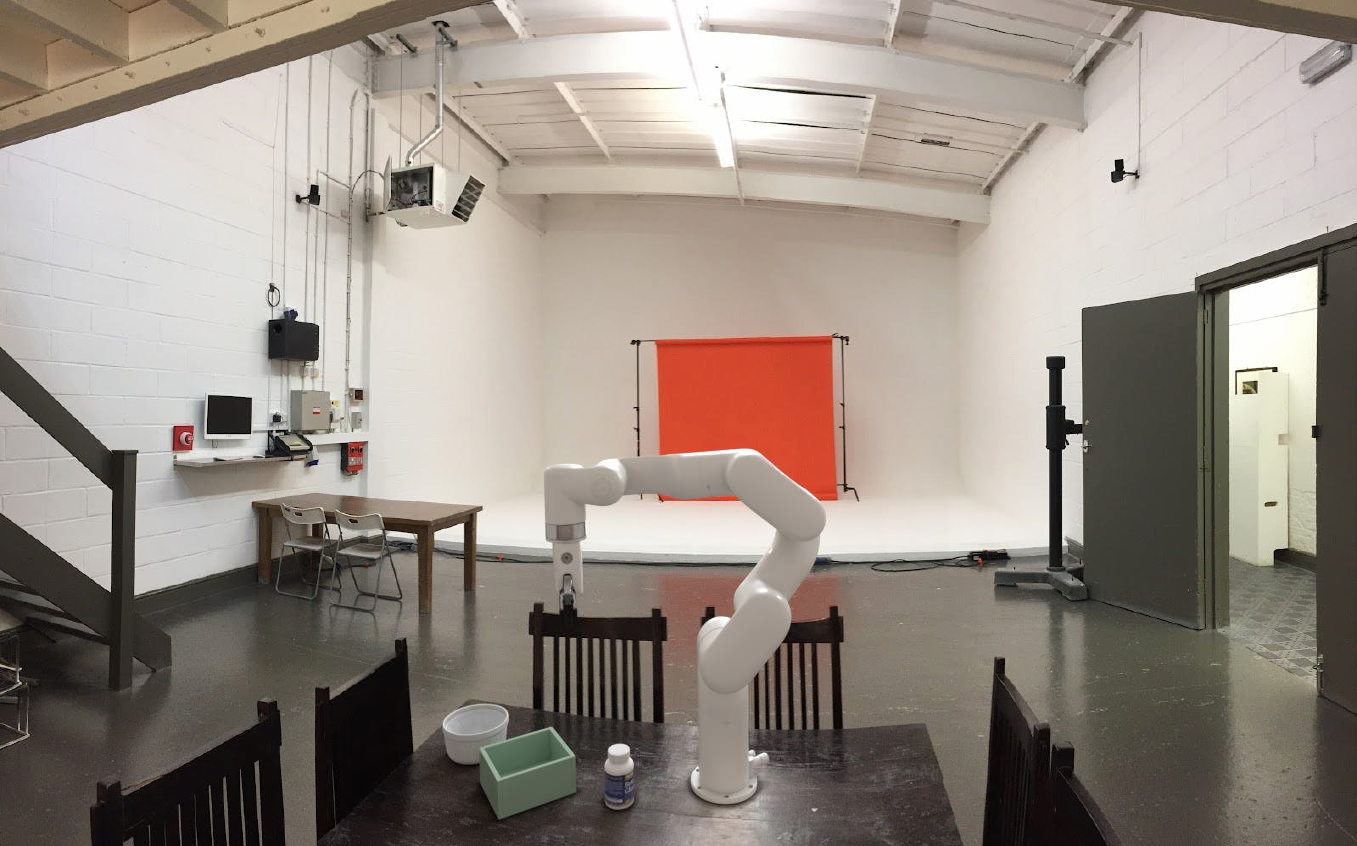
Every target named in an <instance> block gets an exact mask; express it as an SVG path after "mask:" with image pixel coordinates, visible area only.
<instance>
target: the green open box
mask: <svg viewBox="0 0 1357 846" xmlns="http://www.w3.org/2000/svg"><path fill="white" fill-rule="evenodd" d="M576 759H577V758H576V755H575V753H574V752H573V751H572V750H571V749H570V747H569V746H568V745H567V744H566V742H565V741H564V740H563V738H562V737H561V736H560V734H559V733H558V732H557V731H556V730H555V729H554V727H553V726H549V727H546V728H543V729H539V730H536V731H531V732H529V733H525V734H522V735H518V736H514V737H512V738H509V739H506V740H504V741H501V742H498V743H494V744H491V745H487V746H484V747H480V748H479V761H480V763H479V783H480V785H481V788H482V790H483V791H484V794H485V795H486V797H487V799H488V802H489V804H490V806H491V808H492V809H493V812H494V813H495V815H496V817H497V820H502V819H505V818H508V817H510V816H513V815H517V814H519V813H522V812H524V811H527V810H530V809H533V808H536V807H539V806H541V805H544V804H547V803H550V802H552V801H556V800H558V799H562V798H564V797H567V796H570V795H573V794H576V793H577V764H576V763H577V762H576Z"/></svg>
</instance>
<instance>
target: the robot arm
mask: <svg viewBox="0 0 1357 846" xmlns="http://www.w3.org/2000/svg"><path fill="white" fill-rule="evenodd" d="M543 494H544V495H543V497H544V524H545V525H544V528H545V529H544V530H545V531H544V532H545V534H544V535H545V541H546V542H548V543H551V544H552V565H553V567H552V568H553V578H554V586H555V593H556V596H557V597H558V598H559V599H558V600H559V601H558V603H559V604H558V605H559V606H558V607H559V609H558V614H559V615H558V617H559V632H560V633H569V632H577V631H578V630H579V625H578V624H579V621H578V619H579V618H578V617H579V616H578V607H577V595H579V596H582V595H584V571H583V568H584V567H583V545H582V541H585V540H586V539H587V535H588V533H587V506H586V505H589V506H596V507H609V506H613V505H615V504H616V503H617V502H619V501H620V500H621V499H622V497H624V496H633V495H634V496H635V495H662V496H667V497H670V498H673V499H677V500H697V499H698V500H699V499H705V498H707V499H708V498H718V497H733V496H734V497H736V499H738V500H739V501H740V502H741V503H743V505H745V506H746V507H747V508H748V509H749V510H751V511H752V512H753V513H755V514H756V515H757V516H759V517H760V518H761V519H763V520H764V521H765V522H766V523H768V524H769V525H770V526H771V527H772V528H774V529H775V533H774V537H773V540H772V542H771V543H770V545H769V547H768V549H767V550H766V551H765V553H764V554H763V555H762V557H761V558H760V560H758V562H757V563H756V564H755V566H754V567H753V568H752V570H751V571H750V572H749V573H748V575H747V576H746V577H745V579H743V581H742V582H741V583H740V585H739V586H738V587H737V588H736V590H735V592H734V595H733V602H732V603H733V608H734V612H733V615H732V616H731V617H728V616H716V617H715V616H714V617H713V618H711V619H708V620H706V622H705V623H704V624H703V625H702V626H701V628H700V630H699V632H698V634H697V638H696V662H697V663H696V667H697V668H696V669H697V715H698V716H697V728H698V729H697V732H698V737H697V739H698V765H697V766H696V768H694V770H692V772H691V775H690V786H691V787H690V788H691V789H692V791H693V792H694V793H695V794H696V796H698V797H699V798H701V799H702V800H704V801H706V802H709V803H712V804H719V805H734V804H738V803H741V802H744V801H747V800H748V799H750V798H751V797H752V796H753V795H754V794H755V793H756V792H757V790H758V789H757V788H758V777H757V775H756V773H755V771H756V770H757V769H758V767H761V766H764V765H767V764H769V763H770V756H769V754H768V753H767V752H762V753H759V754H757V755H756V752H755V750H754V749H751V750H750V740H749V739H750V734H749V732H750V731H749V730H750V729H749V728H750V727H749V726H750V723H749V722H750V720H749V714H750V713H749V705H750V704H749V703H750V702H749V701H750V700H749V699H750V698H749V693H750V691H749V684H750V683H751V681H753V679H754V678H755V677H756V676H757V674H759V672H760V671H761V670H762V668H763V667H764V666H765V665H766V663H767V662H768V661H769V660H770V659H771V657H772V656H773V654H774V653H775V652H776V651H777V650H778V649H779V647H780V645H781V644H782V643H783V641H784V640H785V639H786V636H787V635H788V633H789V631H790V627H791V622H792V610H791V607H790V604H789V602H790V600H791V598H792V597H793V595H794V594H795V593H796V591H798V589H799V588H800V586H801V584H802V583H803V582H804V580H805V579H806V577H807V576H808V575H809V573H810V571H811V570H812V568H813V566H814V564H815V562H816V560H817V557H818V554H819V549H820V544H821V543H820V542H821V534H822V532H823V530H824V529H825V527H826V522H827V514H826V509H825V507H824V505H823V504H822V502H821V501H820V500H819V499H818V498H817V497H815V495H813V494H812V493H811V492H810V491H809V490H807V488H804V487H802V486H801V485H799V484H798V483H797V482H796V481H794V480H793V479H791V478H790V477H789V476H787V475H786V474H785V473H784V472H782V471H781V469H779V468H778V467H777V466H775V465H774V463H772V462H771V461H770V460H768V459H767V458H766V457H765V456H764V455H763V454H762V453H760V452H759V451H757V450H754V449H751V448H736V449H723V450H712V451H711V450H709V451H699V452H698V451H697V452H685V453H670V454H661V455H641V456H629V457H628V456H627V457H617V458H608V459H603V460H601V461H599V462H598V463H596V464H595V465H593V466H587V467H586V466H585V467H583V466H582V465H580V464H578V463H557V464H551V465H549V466H547V467H545V469H544V471H543Z"/></svg>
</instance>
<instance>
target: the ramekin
mask: <svg viewBox="0 0 1357 846" xmlns="http://www.w3.org/2000/svg"><path fill="white" fill-rule="evenodd" d="M509 715H510V714H509V711H508V710H507V709H506V708H505V707H503V706H501V705H498V704H493V703H477V704H476V703H475V704H470V705H466V706H463V707H461V708H458V709H456V710H453V711H452V712H450V713H449V714H448V715H447V716H446V717H445V718H444V719H443V721H442V727H441V728H442V730H441V731H442V734H443V738H444V744H445V749H446V754H447V756H448V757H449V758H450V759H451V761H453V762H455V763H457V764H459V765H465V766H466V765H467V766H468V765H477V764H480V761H479V748H480V747H484V746H487V745H491V744H494V743H498V742H501V741H504V740H507V733H508V724H509V722H510V718H509Z"/></svg>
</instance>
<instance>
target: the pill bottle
mask: <svg viewBox="0 0 1357 846" xmlns="http://www.w3.org/2000/svg"><path fill="white" fill-rule="evenodd" d="M603 765H604V769H603V771H604V774H603V775H604V778H603V779H604V803H605V805H606V806H607V807H608V808H609V809H612V810H624V809H627V808H629V807H631V806H632V805H633V803H634V801H635V763H634V760H633V759H632V757H631V748H630V746H628V745H627V744H624V743H615V744H613V745H611V746H609V747H608V749H607V759H606V760H605V762H604V764H603Z"/></svg>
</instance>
